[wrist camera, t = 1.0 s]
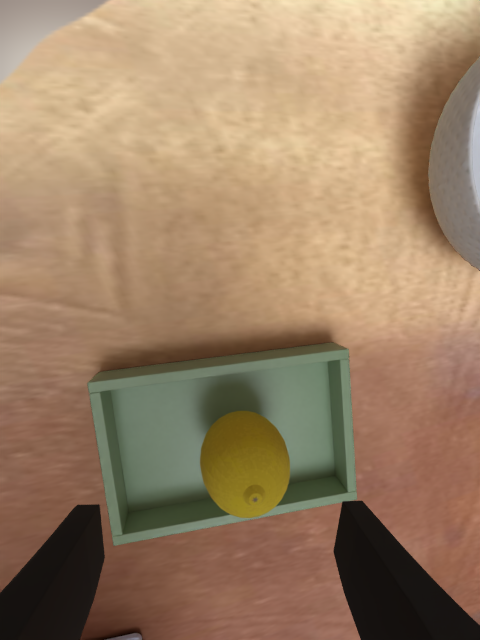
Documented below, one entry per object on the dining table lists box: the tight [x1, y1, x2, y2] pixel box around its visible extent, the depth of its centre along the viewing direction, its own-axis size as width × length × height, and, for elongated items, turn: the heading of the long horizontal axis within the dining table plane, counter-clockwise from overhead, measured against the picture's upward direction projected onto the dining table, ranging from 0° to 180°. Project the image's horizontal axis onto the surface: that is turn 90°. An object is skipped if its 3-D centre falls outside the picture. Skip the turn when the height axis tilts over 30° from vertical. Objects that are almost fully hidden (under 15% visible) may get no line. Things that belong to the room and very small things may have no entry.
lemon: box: [200, 411, 290, 518], centre depth 21 cm, size 6×6×8 cm
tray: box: [87, 342, 357, 546], centre depth 24 cm, size 11×17×3 cm, turn 96°
